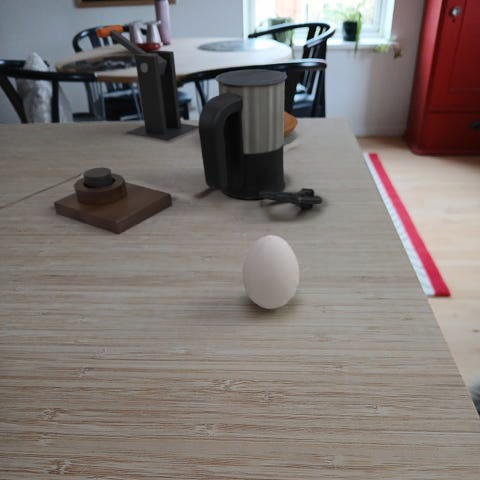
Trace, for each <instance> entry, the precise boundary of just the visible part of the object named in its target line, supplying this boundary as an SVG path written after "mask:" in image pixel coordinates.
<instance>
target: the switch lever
mask: <svg viewBox="0 0 480 480" xmlns="http://www.w3.org/2000/svg"><path fill="white" fill-rule="evenodd" d="M123 33H124V29H123V26H122V25H121V24H115V25H111V26H105V27H100V28H97V29H96V36H97V37H98V38H99V39H104V38H109V37H110V38H111V39H113V40H114V41H116V42H117V43H118V44H119V45H121V46H122V47H124V49H126V50H127V51H129V52H130V53H131V54H133V55H134V56H135V55H136V54H145V55H156V56H158V63H159V71H160V76H161V75H164V74H165V69H166V64H167V61H166V60H165V59H163V58H162V57H160V56H159V55H158V54H156V53H152V54H151V53H148V52H146V51H145V50H143V49H142V48H140V47H139V46H137V44H135V43H134V42H132V41H131V40H129V39H128V38H127V37H125V36H124V35H122V34H123Z"/></svg>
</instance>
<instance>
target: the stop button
mask: <svg viewBox="0 0 480 480" xmlns="http://www.w3.org/2000/svg"><path fill="white" fill-rule="evenodd" d="M112 173H113V172H112V170H111V168H108V167H103V166H102V167H101V166H100V167H93V168H89V169H87V170H85V171H84V172H83V178H84V180H85V184H86V187H87V188H102V187H107V186H109V185H112V184H113V178H112Z"/></svg>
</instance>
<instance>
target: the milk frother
mask: <svg viewBox="0 0 480 480" xmlns="http://www.w3.org/2000/svg"><path fill="white" fill-rule="evenodd" d="M287 78H288V75H287V74H286V73H285V72H283V71H279V70H270V69H259V68H258V69H256V68H255V69H254V68H253V69H252V68H251V69H239V70H233V71H231V70H230V71H228V72H224V73H220V74H218V75H216V76H215V81H216V82H217V84H218V95H216V96H213V97H211V98H210V99H208V101H207V102H206V103H205V104H204V105H203V106H202V108H201V111H200V114H199V118H198V126H199V128H198V134H199V143H200V152H201V159H202V166H203V173H204V180H205V184H206V186H207V187H208V188H210V189H215V190H218V191H222V192H223V193H224V194H226V195H227V196H230V197H233V198H237V199H241V200H260V199H264V200H269V201H276V202H282V203H283V202H285V203H290V204H292V205H295V206H297V207H298V208H300V209H303V210H312V209H313V207H314V205H321V204H323V197H321V196H319V195H316V192H315V190H314V189H313V188H307V187H305V188H304V187H302V188H301V189H300V190H298V191H297V192H287V191H284V190H285V188H286V182H285V172H284V170H285V169H284V142H283V140H284V111H285V83H286V82H285V81H286V80H287Z"/></svg>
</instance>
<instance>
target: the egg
mask: <svg viewBox="0 0 480 480" xmlns="http://www.w3.org/2000/svg"><path fill="white" fill-rule="evenodd" d="M242 265H243V266H242V284H243V286H244V287H243V288H244V290H245V292H246V294H247V295H248V298H249V299H250V300H251V301H252V302H253V303H254V304H256V306H259V307H260V308H263V309H266V310H267V309H268V310H276V309H279V308H281V307H284V306H285V305H287V303H289V302H290V301H291V300H292V298H293V296H294V295H295V294H296V292H297V289H298V287H299V284H300V283H299V282H300V266H299V262H298V258H297V256H296V254H295V252H294V250H293V248H292V247H291V246H290V244H289V243H288V242H287V241H286V240H285V239H283V238H282V237H279V236H277V235H274V234H269V235H268V234H267V235H264V236H262V237H260V238H259V239H257V240H256V241H255V242H254V243H253V244H252V246H251V247H250V248H249V250H248V251H247V253H246V256H245V258H244V261H243V264H242Z"/></svg>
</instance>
